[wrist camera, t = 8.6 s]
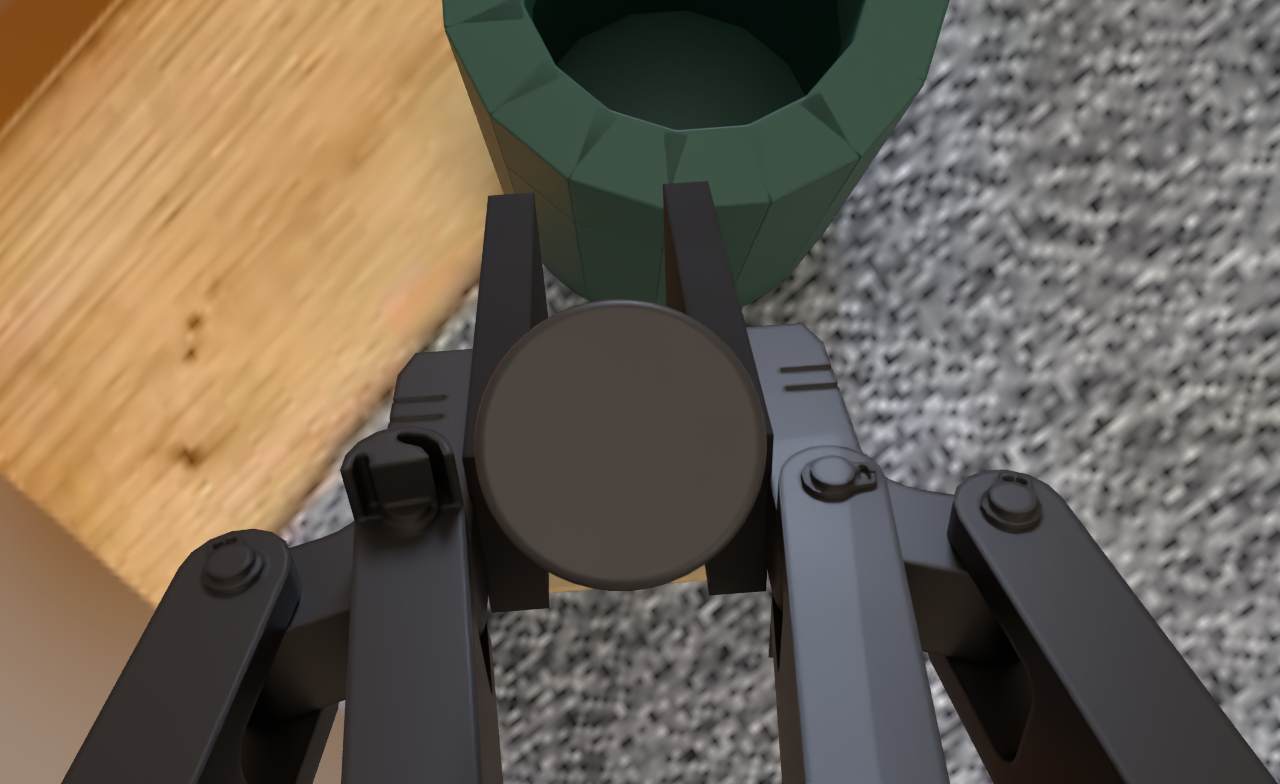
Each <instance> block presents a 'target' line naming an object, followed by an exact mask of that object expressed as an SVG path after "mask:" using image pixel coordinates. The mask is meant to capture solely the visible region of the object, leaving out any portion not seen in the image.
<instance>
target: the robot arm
mask: <svg viewBox="0 0 1280 784" xmlns="http://www.w3.org/2000/svg"><path fill="white" fill-rule="evenodd" d="M663 213H664V246H665V280H666V306H667V307H670V308H672V309H675V310H677V311H680V312H682V313H685V314H686V315H688V316H690V317H692V318H694V319H695V320H697V321H699V322H701V323H702V324H703V325H705V326H706V327H707V328H709V329H710V330H711V331H713V332H714V333H715V334H716V335H717V336H718V337H720V338H721V339H722V340H723V341H724V342H725V343H726V344H727V345H728V346H729V347H730V349H731V350H732V351H733V352H734V354H735V355H736V356H737V357H738V359H739V360H740V361H741V363H742V364H743V366H744V368H745V369H746V371H747V372H748V374H749V376H750V377H751V380H752V382H753V384H754V386H755V389H756V391H757V393H758V396H759V399H760V403H761V406H762V410H763V413H764V419H765V426H766V435H767V455H766V464H765V471H764V475H763V480H762V484H761V488H760V491H759V493H758V496H757V498H756V501H755V504H754V506H753V508H752V510H751V512H750V514H749V515H748V517H747V519H746V521H745V523H744V524H743V526H742V527H741V528H740V530H739V531H738V532H737V534H736V535H735V537H734V538H733V539H732V540H731V541H730V542H729V543H728V544H727V545H726V546H725V547H724V549H723V550H722V551H721V552H720V553H719V554H717V555H716V556H715V557H714V558H712V559H711V560H710V561H709V562H707V563H706V564H705V570H706V577H707V583H708V590H709V595H721V594H734V593H747V592H760V591H766V582H767V570H768V575H769V579H770V584H771V589H772V605H771V623H770V642H769V657H773V659H774V673H775V687H776V701H777V716H778V730H779V744H780V758H781V772H782V784H950V781H949V776H948V772H947V767H946V762H945V757H944V753H943V748H942V743H941V738H940V733H939V729H938V724H937V719H936V714H935V709H934V705H933V700H932V695H931V690H930V686H929V681H928V676H927V671H926V666H925V662H924V657H923V652H922V651H924V652H928V655H929V659H930V661H931V663H932V665H933V667H934V669H935V670H936V672H937V674H938V676H939V678H940V680H941V682H942V684H943V686H944V688H945V690H946V692H947V694H948V696H949V698H950V700H951V701H952V703H953V705H954V707H955V709H956V711H957V713H958V715H959V717H960V719H961V721H962V723H963V725H964V727H965V729H966V730H967V732H968V734H969V736H970V738H971V740H972V742H973V744H974V746H975V748H976V750H977V752H978V754H979V756H980V758H981V760H982V761H983V763H984V765H985V767H986V769H987V771H988V773H989V775H990V777H991V779H992V781H993V783H994V784H1278V783H1277V782H1276V781H1275V779H1274V778H1273V777H1272V775H1271V774H1270V773H1269V771H1268V770H1267V769H1266V767H1265V766H1264V765H1263V763H1262V762H1261V761H1260V759H1259V758H1258V757H1257V755H1256V754H1255V753H1254V751H1253V750H1252V749H1251V747H1250V746H1249V745H1248V743H1247V742H1246V741H1245V739H1244V738H1243V737H1242V736H1241V734H1240V733H1239V732H1238V730H1237V729H1236V728H1235V726H1234V725H1233V724H1232V722H1231V721H1230V720H1229V718H1228V717H1227V716H1226V714H1225V713H1224V712H1223V710H1222V709H1221V708H1220V706H1219V705H1218V704H1217V702H1216V701H1215V700H1214V698H1213V697H1212V696H1211V694H1210V693H1209V692H1208V690H1207V689H1206V688H1205V686H1204V685H1203V684H1202V682H1201V681H1200V680H1199V678H1198V677H1197V676H1196V674H1195V673H1194V672H1193V670H1192V669H1191V668H1190V667H1189V665H1188V664H1187V663H1186V661H1185V660H1184V659H1183V657H1182V656H1181V655H1180V653H1179V652H1178V651H1177V649H1176V648H1175V647H1174V645H1173V644H1172V643H1171V641H1170V640H1169V639H1168V637H1167V636H1166V635H1165V633H1164V632H1163V631H1162V629H1161V628H1160V627H1159V625H1158V624H1157V623H1156V621H1155V620H1154V619H1153V617H1152V616H1151V615H1150V613H1149V612H1148V611H1147V609H1146V608H1145V607H1144V605H1143V604H1142V603H1141V601H1140V600H1139V599H1138V597H1137V596H1136V595H1135V594H1134V592H1133V591H1132V590H1131V588H1130V587H1129V586H1128V584H1127V583H1126V582H1125V580H1124V579H1123V578H1122V576H1121V575H1120V574H1119V572H1118V571H1117V570H1116V568H1115V567H1114V566H1113V564H1112V563H1111V562H1110V560H1109V559H1108V558H1107V556H1106V555H1105V554H1104V552H1103V551H1102V550H1101V548H1100V547H1099V546H1098V544H1097V543H1096V542H1095V540H1094V539H1093V538H1092V536H1091V535H1090V534H1089V532H1088V531H1087V530H1086V528H1085V527H1084V526H1083V524H1082V523H1081V522H1080V521H1079V519H1078V518H1077V517H1076V515H1075V514H1074V513H1073V511H1072V510H1071V509H1070V507H1069V506H1068V505H1067V503H1066V502H1065V501H1064V499H1063V498H1062V497H1061V496H1060V495H1059V494H1058V493H1057V492H1056V491H1054V490H1053V489H1052V488H1051V487H1050V486H1049V485H1048V484H1046V483H1044V482H1042V481H1040V480H1038V479H1036V478H1034V477H1032V476H1030V475H1027V474H1023V473H1018V472H1014V471H1009V470H987V471H983V472H980V473H977V474H974V475H971V476H968V477H967V478H966V479H965V480H964V481H963V482H962V483H961V484H960V485H958V486H957V488H956V492H955V495H951V494H945V493H939V492H932V491H926V490H920V489H916V488H912V487H908V486H904V485H902V484H899V483H897V482H895V481H892V480H890V479H888V478H887V477H885V476H884V474H883V472H882V470H881V468H880V466H879V465H878V464H877V463H876V462H874V461H873V460H872V459H871V458H869V457H868V456H867V455H866V454H863V453H862V451H861V448H860V445H859V442H858V439H857V437H856V434H855V431H854V428H853V425H852V422H851V420H850V417H849V414H848V411H847V408H846V406H845V403H844V400H843V397H842V394H841V391H840V389H839V387H838V386H837V380H836V377H835V375H834V372H833V369H831V363H830V360H829V358H828V355H827V352H826V349H825V346H824V344H823V342H822V341H821V340H820V339H819V338H818V337H817V336H816V335H815V334H813V333H812V332H811V331H810V330H809V329H808V328H807V327H806V326H805V325H804V324H802V323H797V324H783V325H769V326H755V327H746V326H745V322H744V318H743V314H742V310H741V306H740V302H739V299H738V295H737V291H736V287H735V283H734V279H733V275H732V272H731V268H730V264H729V260H728V256H727V252H726V248H725V245H724V241H723V237H722V233H721V229H720V225H719V221H718V218H717V214H716V210H715V206H714V202H713V198H712V194H711V191H710V187H709V183H708V181H701V182H686V183H671V184H663ZM546 319H548V312H547V303H546V294H545V286H544V277H543V268H542V259H541V250H540V241H539V232H538V224H537V215H536V206H535V197H534V193H523V194H508V195H494V196H488V203H487V213H486V223H485V233H484V243H483V253H482V263H481V273H480V283H479V293H478V303H477V313H476V323H475V333H474V343H473V349H466V350H452V351H438V352H424V353H416V354H415V355H414V356H413V357H412V358H411V360H410V361H409V362H408V363H407V365H406V366H405V367H404V368H403V369H402V371H401V372H400V373H399V374H398V377H397V382H396V387H395V392H394V398H393V400H394V403H392V408H391V413H390V423H389V424H388V429H386V430H383V431H379V432H376V433H374V434H372V435H370V436H369V437H367V438H365V439H363V440H361V441H360V442H358V443H357V444H356V445H355V446H354V447H353V448H352V449H351V450H350V451H349V452H348V453H347V454H346V455H345V458H344V461H343V464H342V466H341V469H340V471H341V475H342V478H343V482H344V485H345V489H346V492H347V495H348V499H349V502H350V506H351V509H352V513H353V516H354V520H355V521H353V522H352V523H351V524H349V525H347V526H346V527H344V528H343V529H341V530H339V531H338V532H335V533H333V534H330V535H328V536H325V537H323V538H320V539H317V540H314V541H311V542H307V543H304V544H301V545H298V546H295V547H292V548H288V546H287V543H286V541H285V540H283V539H282V538H280V537H279V536H277V535H276V534H274V533H273V532H268V531H263V530H257V529H248V530H239V531H231V532H229V533H226V534H224V535H221V536H218V537H216V538H213V539H210V540H209V541H207V542H206V543H204V544H203V545H202V546H200V547H199V548H197V549H196V550H194V551H193V552H191V554H190V555H189V556H188V557H187V559H186V560H185V561H184V562H183V563H182V565H181V566H180V567H179V568H178V570H177V572H176V574H175V576H174V578H173V579H172V581H171V583H170V585H169V587H168V589H167V590H166V592H165V594H164V596H163V598H162V600H161V601H160V603H159V605H158V607H157V609H156V611H155V613H154V614H153V616H152V618H151V620H150V622H149V623H148V625H147V627H146V629H145V631H144V633H143V634H142V636H141V638H140V640H139V642H138V644H137V646H136V647H135V649H134V651H133V653H132V655H131V656H130V658H129V660H128V662H127V664H126V666H125V667H124V669H123V671H122V673H121V675H120V677H119V678H118V680H117V682H116V684H115V686H114V688H113V689H112V691H111V693H110V695H109V697H108V699H107V700H106V702H105V704H104V706H103V708H102V710H101V711H100V713H99V715H98V717H97V719H96V721H95V722H94V724H93V726H92V728H91V730H90V732H89V733H88V735H87V737H86V739H85V741H84V743H83V744H82V746H81V748H80V750H79V752H78V753H77V755H76V757H75V759H74V761H73V763H72V765H71V766H70V768H69V770H68V772H67V774H66V775H65V777H64V779H63V781H62V783H61V784H313V780H314V778H315V774H316V772H317V769H318V766H319V763H320V760H321V757H322V754H323V751H324V748H325V745H326V742H327V739H328V736H329V734H330V730H331V728H332V725H333V722H334V719H335V716H336V713H337V710H338V704H339V702H341V701H343V700H345V719H344V738H343V757H342V777H341V784H503V777H502V765H501V753H500V741H499V729H498V717H497V705H496V693H495V681H494V669H493V657H492V644H491V638H490V633H489V628H488V623H487V602H488V596H489V601H490V606H491V611H492V613H494V612H506V611H519V610H532V609H544V608H549V572H548V571H546V570H544V569H542V568H541V567H539V566H538V565H536V564H535V563H534V562H532V561H531V560H530V559H529V558H527V557H526V556H525V555H523V554H522V553H521V552H520V551H519V550H518V549H517V548H516V547H515V546H514V545H513V544H512V543H511V542H510V540H509V539H508V538H507V536H506V535H505V534H504V533H503V531H502V530H501V529H500V527H499V526H498V524H497V523H496V521H495V519H494V517H493V516H492V514H491V512H490V510H489V508H488V506H487V503H486V501H485V499H484V496H483V494H482V491H481V487H480V484H479V480H478V476H477V471H476V463H475V455H474V434H475V427H476V420H477V414H478V410H479V407H480V403H481V400H482V396H483V394H484V392H485V389H486V387H487V384H488V382H489V380H490V378H491V376H492V375H493V373H494V371H495V369H496V368H497V366H498V364H499V363H500V361H501V360H502V359H503V358H504V356H505V355H506V354H507V352H508V351H509V350H510V349H511V347H513V346H514V345H515V344H516V343H517V342H518V341H519V340H520V339H521V338H522V337H523V336H524V335H525V334H526V333H527V332H529V331H530V330H531V329H533V328H534V327H535V326H537V325H538V324H539V323H541V322H543V321H544V320H546Z"/></svg>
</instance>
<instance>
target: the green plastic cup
mask: <svg viewBox="0 0 1280 784" xmlns="http://www.w3.org/2000/svg"><path fill="white" fill-rule="evenodd" d="M948 3H949V0H442V4H443V19H444V28H445V32H446V35H447V37H448V40H449V43H450V46H451V48H452V51H453V54H454V57H455V60H456V62H457V65H458V68H459V71H460V73H461V76H462V79H463V82H464V84H465V87H466V90H467V92H468V95H469V98H470V101H471V104H472V106H473V109H474V112H475V115H476V117H477V120H478V123H479V126H480V128H481V131H482V134H483V137H484V139H485V142H486V145H487V148H488V150H489V153H490V156H491V159H492V162H493V164H494V167H495V170H496V173H497V175H498V178H499V181H500V184H501V186H502V189H503V192H504V195H508V194H523V193H534V197H535V206H536V215H537V224H538V232H539V241H540V250H541V259H542V262H543V264H544V265H545V266H546V267H547V268H548V269H549V270H550V271H551V272H552V273H553V274H554V275H555V276H556V277H557V278H558V279H559V280H560V281H561V282H562V283H564V284H565V285H566V286H568V287H569V288H570V289H572V290H573V291H575V292H576V293H577V294H579V295H580V296H582V297H584V298H585V299H587V300H589V301H591V302H593V301H600V300H608V299H633V300H641V301H649V302H652V303H656V304H660V305H664V306H666V280H665V246H664V213H663V184H671V183H686V182H701V181H708V183H709V187H710V191H711V194H712V198H713V202H714V206H715V210H716V214H717V218H718V221H719V225H720V229H721V233H722V237H723V241H724V245H725V248H726V252H727V256H728V260H729V264H730V268H731V272H732V275H733V279H734V283H735V287H736V291H737V295H738V299H739V302H740V306H741V307H742V306H745V305H747V304H749V303H751V302H753V301H754V300H756V299H758V298H759V297H761V296H763V295H764V294H766V293H768V292H769V291H770V290H771V289H773V288H774V287H775V286H777V285H779V284H780V283H782V282H783V281H784V280H785V279H786V277H787V276H788V275H789V274H790V273H791V272H792V271H793V270H794V269H795V268H796V267H797V266H798V265H799V263H800V262H801V261H802V259H803V258H804V256H805V255H806V254H807V253H808V251H809V250H810V249H811V248H812V247H813V245H814V244H815V243H816V242H817V241H818V240H819V238H820V237H821V236H822V235H823V234H824V232H825V231H826V229H827V228H828V226H829V225H830V223H831V222H832V220H833V219H834V217H835V216H836V214H837V213H838V211H839V210H840V208H841V207H842V205H843V204H844V202H845V201H846V199H847V198H848V196H849V195H850V193H851V192H852V191H853V189H854V188H855V186H856V185H857V183H858V182H859V180H860V179H861V177H862V176H863V174H864V173H865V171H866V170H867V168H868V167H869V165H870V164H871V162H872V161H873V159H874V158H875V156H876V155H877V153H878V152H879V150H880V149H881V147H882V146H883V145H884V143H885V142H886V140H887V139H888V137H889V136H890V134H891V133H892V131H893V130H894V128H895V127H896V125H897V124H898V122H899V121H900V119H901V118H902V116H903V115H904V113H905V112H906V110H907V109H908V107H909V106H910V105H911V103H912V102H913V100H914V99H915V97H916V96H917V94H918V93H919V91H920V90H921V88H922V87H923V85H924V82H925V80H926V78H927V74H928V71H929V68H930V64H931V61H932V57H933V54H934V51H935V47H936V44H937V41H938V37H939V34H940V30H941V27H942V24H943V20H944V17H945V14H946V10H947V7H948Z"/></svg>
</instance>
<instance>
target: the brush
mask: <svg viewBox="0 0 1280 784" xmlns="http://www.w3.org/2000/svg"><path fill="white" fill-rule="evenodd" d="M474 455H475V463H476V471H477V476H478V480H479V484H480V487H481V491H482V494H483V496H484V499H485V501H486V503H487V506H488V508H489V510H490V512H491V514H492V516H493V517H494V519H495V521H496V523H497V524H498V526H499V527H500V529H501V530H502V531H503V533H504V534H505V535H506V536H507V538H508V539H509V540H510V542H511V543H512V544H513V545H514V546H515V547H516V548H517V549H518V550H519V551H520V552H521V553H522V554H523V555H525V556H526V557H527V558H529V559H530V560H531V561H532V562H534V563H535V564H536V565H538V566H539V567H541V568H542V569H544V570H546V571H548V572H549V593H553V592H566V591H578V590H591V589H600V590H608V591H634V590H641V589H647V588H653V587H656V586H660V585H663V584H667V583H680V582H693V581H706V580H707V577H706V570H705V564H706V563H707V562H709V561H710V560H711V559H712V558H714V557H715V556H716V555H717V554H719V553H720V552H721V551H722V550H723V549H724V547H725V546H726V545H727V544H728V543H729V542H730V541H731V540H732V539H733V538H734V537H735V535H736V534H737V532H738V531H739V530H740V528H741V527H742V526H743V524H744V523H745V521H746V519H747V517H748V515H749V514H750V512H751V510H752V508H753V506H754V504H755V501H756V498H757V496H758V493H759V491H760V488H761V484H762V480H763V475H764V471H765V464H766V455H767V435H766V426H765V419H764V413H763V410H762V406H761V403H760V399H759V396H758V393H757V391H756V389H755V386H754V384H753V382H752V380H751V377H750V376H749V374H748V372H747V371H746V369H745V368H744V366H743V364H742V363H741V361H740V360H739V359H738V357H737V356H736V355H735V354H734V352H733V351H732V350H731V349H730V347H729V346H728V345H727V344H726V343H725V342H724V341H723V340H722V339H721V338H720V337H718V336H717V335H716V334H715V333H714V332H713V331H711V330H710V329H709V328H707V327H706V326H705V325H703V324H702V323H701V322H699V321H697V320H695V319H694V318H692V317H690V316H688V315H686V314H685V313H682V312H680V311H677V310H675V309H672V308H670V307H667V306H664V305H660V304H656V303H652V302H649V301H641V300H633V299H608V300H600V301H593V302H589V303H585V304H581V305H577V306H574V307H571V308H569V309H566V310H564V311H562V312H559V313H557V314H555V315H553V316H551V317H550V318H548V319H546V320H544V321H543V322H541V323H539V324H538V325H537V326H535V327H534V328H533V329H531V330H530V331H529V332H527V333H526V334H525V335H524V336H523V337H522V338H521V339H520V340H519V341H518V342H517V343H516V344H515V345H514V346H513V347H511V349H510V350H509V351H508V352H507V354H506V355H505V356H504V358H503V359H502V360H501V361H500V363H499V364H498V366H497V368H496V369H495V371H494V373H493V375H492V376H491V378H490V380H489V382H488V384H487V387H486V389H485V392H484V394H483V396H482V400H481V403H480V407H479V410H478V414H477V420H476V427H475V434H474Z"/></svg>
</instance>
